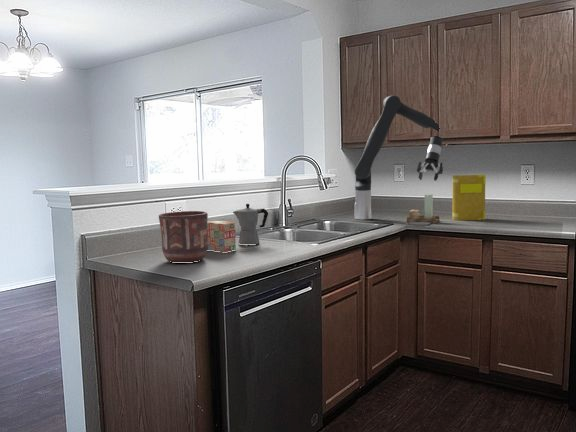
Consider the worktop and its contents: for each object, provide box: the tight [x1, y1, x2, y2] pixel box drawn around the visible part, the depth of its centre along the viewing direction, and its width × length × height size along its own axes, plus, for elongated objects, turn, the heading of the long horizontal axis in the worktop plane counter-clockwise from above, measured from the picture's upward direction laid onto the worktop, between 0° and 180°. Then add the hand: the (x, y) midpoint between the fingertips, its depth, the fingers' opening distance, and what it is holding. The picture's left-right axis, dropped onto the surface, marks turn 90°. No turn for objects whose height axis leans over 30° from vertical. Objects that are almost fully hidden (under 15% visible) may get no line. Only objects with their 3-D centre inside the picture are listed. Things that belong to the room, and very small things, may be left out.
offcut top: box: [408, 209, 420, 217], centre depth 288 cm, size 4×8×2 cm, turn 155°
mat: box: [408, 222, 432, 226], centre depth 277 cm, size 10×8×1 cm
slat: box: [424, 193, 434, 218], centre depth 284 cm, size 4×4×14 cm
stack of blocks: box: [207, 220, 237, 252], centre depth 214 cm, size 21×6×12 cm, turn 48°
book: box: [451, 174, 487, 221], centre depth 290 cm, size 17×7×25 cm, turn 84°
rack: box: [406, 214, 440, 225], centre depth 286 cm, size 15×12×3 cm
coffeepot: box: [232, 203, 269, 244], centre depth 226 cm, size 15×9×18 cm, turn 92°
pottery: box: [158, 210, 209, 262], centre depth 192 cm, size 18×18×18 cm
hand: (427, 179), depth 292 cm, fingers open, 8 cm apart
